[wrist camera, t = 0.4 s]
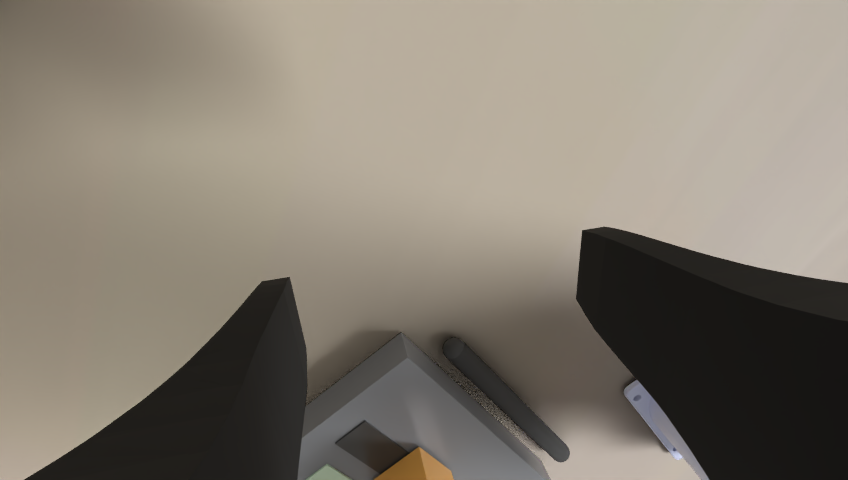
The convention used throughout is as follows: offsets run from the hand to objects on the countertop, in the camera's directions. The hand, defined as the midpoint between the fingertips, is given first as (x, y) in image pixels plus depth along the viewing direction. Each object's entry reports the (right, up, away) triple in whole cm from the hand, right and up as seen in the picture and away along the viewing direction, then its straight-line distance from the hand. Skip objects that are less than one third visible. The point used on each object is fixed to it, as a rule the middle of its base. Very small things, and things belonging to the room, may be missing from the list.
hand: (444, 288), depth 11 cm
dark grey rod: (+5, -8, +16) cm, 19 cm away
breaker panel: (-1, -12, +17) cm, 20 cm away
